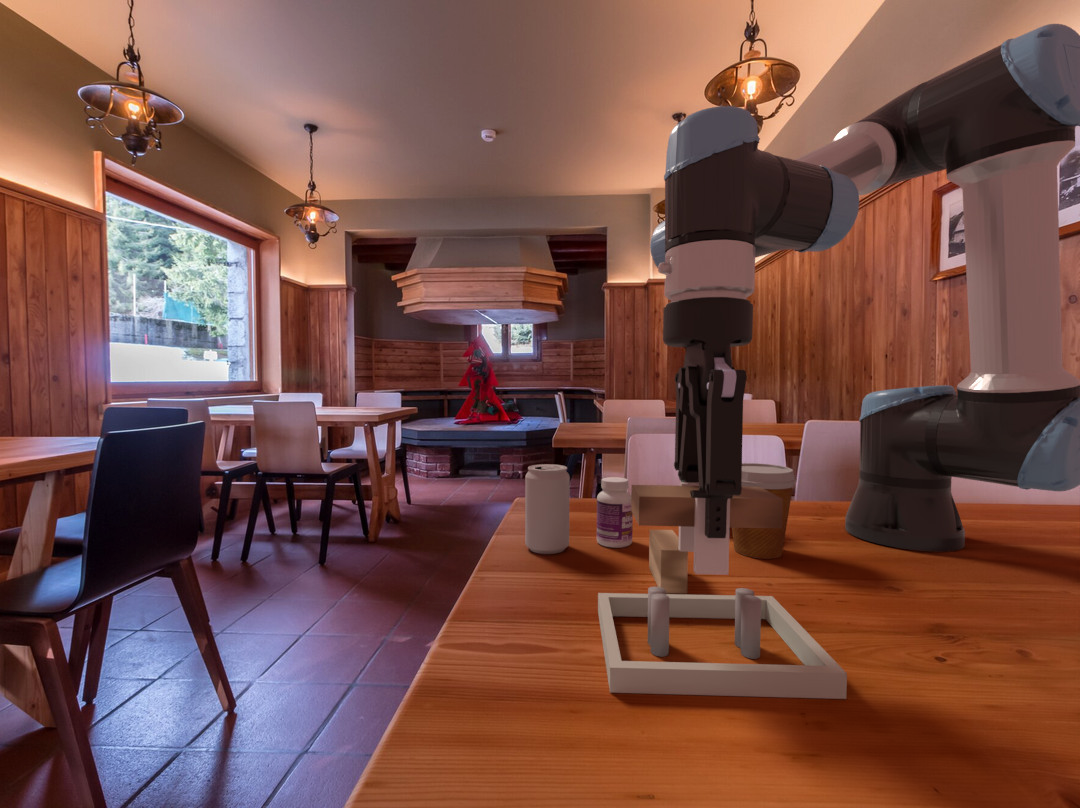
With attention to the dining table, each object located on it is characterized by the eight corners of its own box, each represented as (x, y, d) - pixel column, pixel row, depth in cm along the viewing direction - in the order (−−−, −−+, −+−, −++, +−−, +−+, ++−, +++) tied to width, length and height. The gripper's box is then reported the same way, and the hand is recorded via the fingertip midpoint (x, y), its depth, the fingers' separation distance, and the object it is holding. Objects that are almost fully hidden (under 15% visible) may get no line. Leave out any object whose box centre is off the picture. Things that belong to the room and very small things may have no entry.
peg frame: (771, 614, 53) (772, 567, 53) (846, 699, 39) (848, 635, 39) (598, 611, 54) (598, 564, 54) (609, 692, 40) (610, 629, 40)
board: (638, 525, 44) (639, 496, 43) (631, 510, 49) (631, 484, 48) (782, 528, 43) (782, 499, 43) (759, 513, 48) (760, 486, 48)
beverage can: (524, 542, 77) (523, 463, 76) (566, 541, 78) (566, 462, 77) (526, 556, 71) (526, 470, 70) (572, 555, 71) (572, 470, 71)
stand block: (672, 567, 66) (672, 529, 66) (687, 593, 58) (687, 550, 58) (649, 567, 66) (649, 529, 66) (660, 593, 58) (661, 550, 58)
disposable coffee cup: (804, 565, 67) (806, 475, 66) (727, 560, 69) (729, 472, 68) (784, 543, 76) (786, 463, 76) (717, 539, 78) (719, 461, 78)
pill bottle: (630, 550, 73) (630, 483, 73) (593, 546, 75) (593, 481, 74) (634, 539, 78) (634, 476, 78) (600, 536, 80) (600, 475, 80)
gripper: (647, 314, 54) (643, 530, 55) (689, 280, 36) (682, 603, 37) (719, 314, 54) (714, 532, 55) (797, 280, 36) (788, 605, 37)
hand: (701, 560), depth 46 cm, fingers closed on board, 5 cm apart
